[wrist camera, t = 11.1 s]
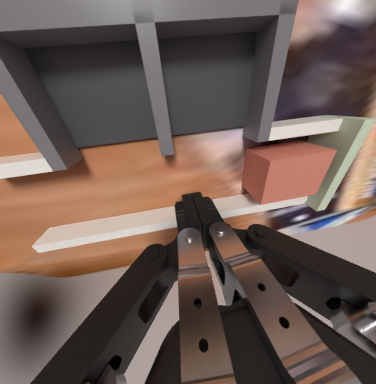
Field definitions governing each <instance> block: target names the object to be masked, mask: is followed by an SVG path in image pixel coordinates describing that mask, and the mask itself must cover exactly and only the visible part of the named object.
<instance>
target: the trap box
mask: <svg viewBox="0 0 376 384" xmlns="http://www.w3.org/2000/svg"><path fill="white" fill-rule="evenodd" d="M297 5H298V0H0V93H1V94H2V96H3V97H4V99H5V100H6V102H7V103H8V105H9V106H10V108H11V109H12V111H13V112H14V114H15V115H16V117H17V118H18V120H19V121H20V123H21V124H22V126H23V127H24V128H25V130H26V131H27V133H28V134H29V136H30V137H31V139H32V140H33V142H34V143H35V145H36V146H37V148H38V149H39V151H40V152H37V153H29V154H21V155H13V156H6V157H0V179H3V178H10V177H17V176H24V175H31V174H38V173H45V172H53V171H60V170H67V169H69V168H70V167H72V166H73V165H75V164H76V163H78V162H79V161H80V160H82V159H83V157H82V155H81V153H80V151H79V149H78V148H80V147H88V146H96V145H103V144H111V143H119V142H126V141H134V140H142V139H149V138H157V137H158V140H159V145H160V150H161V155H162V156H165V155H172V154H174V149H173V142H172V135H180V134H188V133H196V132H203V131H211V130H219V129H226V128H234V127H242V126H244V131H243V137H245V138H247V139H250V140H253V141H255V142H264V141H271V140H278V139H285V138H292V137H299V136H306V135H309V137H308V140H307V142H308V143H312V144H316V145H319V146H323V147H327V148H331V149H335V150H337V152H336V154H335V156H334V158H333V160H332V162H331V164H330V166H329V168H328V171H327V173H326V175H325V177H324V179H323V181H322V183H321V185H320V187H319V189H318V191H317V193H316V194H315V195H309V196H304V197H299V198H294V199H289V200H284V201H278V202H273V203H268V204H263V205H260V204H259V203H258V202H257V201H256V200H255V199H254V198H253V197H252V196H251V195H250V194H249V193H246V194H240V195H235V196H229V197H223V198H217V199H212V201H213V203H214V205H215V206H216V209H217V210H218V212H219V213H220V215H221V217H222V219H223V218H228V217H233V216H239V215H244V214H250V213H255V212H260V211H266V210H271V209H276V208H282V207H287V206H292V205H298V204H303V203H305V204H307V205H308V206H310V207H311V208H313V209H314V210H316V211H320V210H325V209H326V207H327V205H328V203H329V201H330V200H331V198H332V196H333V194H334V193H335V191H336V189H337V187H338V186H339V184H340V182H341V180H342V179H343V177H344V175H345V173H346V172H347V170H348V168H349V166H350V165H351V163H352V161H353V159H354V158H355V156H356V154H357V152H358V151H359V149H360V147H361V145H362V144H363V142H364V140H365V138H366V137H367V135H368V133H369V131H370V130H371V128H372V126H373V124H374V123H375V121H376V118H363V117H348V116H332V115H322V116H314V117H306V118H298V119H291V120H283V121H275V122H273V118H274V113H275V109H276V104H277V99H278V94H279V90H280V85H281V80H282V76H283V71H284V66H285V62H286V57H287V52H288V47H289V43H290V38H291V33H292V29H293V24H294V19H295V15H296V10H297ZM174 227H177V221H176V214H175V208H174V206H171V207H165V208H160V209H154V210H148V211H142V212H137V213H131V214H125V215H119V216H114V217H108V218H102V219H96V220H90V221H85V222H79V223H73V224H67V225H62V226H56V227H50V228H48V229H47V231H46V232H45V233H44V234H43V235H42V236H41V237H40V238H39V239H38V240H37V241H36V243H35V244H34V245H33V246H32V247H33V248H34V249H35V250H36V251H37V252H38V253H40V252H46V251H51V250H56V249H62V248H67V247H73V246H78V245H83V244H89V243H94V242H99V241H105V240H110V239H115V238H121V237H126V236H132V235H137V234H142V233H148V232H153V231H158V230H164V229H169V228H174Z"/></svg>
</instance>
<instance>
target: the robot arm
mask: <svg viewBox="0 0 376 384" xmlns="http://www.w3.org/2000/svg"><path fill="white" fill-rule="evenodd" d="M174 208H175V214H176V221H177V228H178V235H177V237H176V239H175V240H174V241H173V242H171V243H170V244H168V245H166V246H163V245H162V244H153V245H150V246H148V247H147V248H146V249H145V250H144V251H143V252H142V253H141V255H140V256H139V257H138V258H137V259H136V260H135V262H134V263H133V264H132V265H131V266H130V268H129V269H128V270H127V271H126V272H125V273H124V275H123V276H122V277H121V278H120V279H119V280H118V282H117V283H116V284H115V285H114V286H113V287H112V289H111V290H110V291H109V292H108V293H107V295H106V296H105V297H104V298H103V299H102V300H101V301H100V303H99V304H98V305H97V306H96V307H95V308H94V310H93V311H92V312H91V313H90V314H89V316H88V317H87V318H86V319H85V320H84V321H83V323H82V324H81V325H80V326H79V327H78V328H77V330H76V331H75V332H74V333H73V334H72V335H71V337H70V338H69V339H68V340H67V341H66V342H65V344H64V345H63V346H62V347H61V348H60V350H59V351H58V352H57V353H56V354H55V355H54V357H53V358H52V359H51V360H50V361H49V363H48V364H47V365H46V366H45V367H44V368H43V370H42V371H41V372H40V373H39V374H38V375H37V376H36V378H35V379H34V380H33V381H32V382H31V383H30V384H126V378H125V376H124V373H125V371H126V369H127V368H128V366H129V364H130V362H131V360H132V359H133V357H134V355H135V353H136V351H137V350H138V348H139V346H140V344H141V342H142V340H143V339H144V337H145V335H146V333H147V331H148V329H149V328H150V326H151V324H152V322H153V320H154V319H155V317H156V315H157V313H158V311H159V310H160V308H161V306H162V304H163V302H164V301H165V299H166V297H167V295H168V293H169V291H170V289H171V288H172V286H173V284H174V282H175V281H177V280H178V297H179V321H178V322H176V324H175V325H174V326H173V327H172V328H171V329H170V331H169V332H168V334H167V335H166V337H165V339H164V341H163V343H162V345H161V347H160V349H159V351H158V354H157V356H156V358H155V361H154V363H153V365H152V368H151V370H150V372H149V374H148V377H147V379H146V382H145V384H376V273H375V272H372V271H370V270H367V269H365V268H363V267H360V266H358V265H356V264H353V263H351V262H349V261H346V260H344V259H341V258H339V257H337V256H335V255H332V254H330V253H327V252H325V251H323V250H320V249H318V248H316V247H313V246H311V245H308V244H306V243H304V242H302V241H299V240H297V239H294V238H292V237H290V236H287V235H285V234H283V233H280V232H278V231H276V230H273V229H271V228H269V227H266V226H264V225H260V224H253V225H250V226H249V227H248V229H247V230H241V229H234V228H232V227H231V226H230V225H228V224H227V223H225V222H224V221H223V219H222V217H221V215H220V213H219V212H218V210H217V209H216V206H215V205H214V203H213V201H212V200H211V199H210V198H209V197H202V195H201V192H195V193H190V194H184V195H182V201H180V202H176V204H175V206H174ZM205 248H208V250H209V254H210V260H211V263H212V265H213V267H214V270H215V272H216V275H217V277H218V280H219V282H220V285H221V287H222V290H223V294H224V298H225V302H226V305H227V306H223V305H218V303H217V299H216V294H215V289H214V285H213V281H212V276H211V272H210V269H209V267H208V265H207V260H206V256H205V251H204V249H205ZM287 293H288V294H289V295H291V296H292V297H294V298H296V299H297V300H299V301H300V302H302V303H303V304H305V305H306V306H308V307H310V308H311V309H313V310H314V311H316V312H318V313H319V314H321V315H322V316H324V317H325V318H327V319H328V320H330V321H331V322H332V324H333V329H332V328H331V327H329V326H328V325H327V324H325V323H323V322H322V321H321V320H319V319H318V318H316V317H315V316H313V315H312V314H311V313H309V312H308V311H306V310H305V309H303V308H302V307H300V306H299V305H297V304H295V303H293V302H292V300H291V299H290V297H289V296H288V295H287Z"/></svg>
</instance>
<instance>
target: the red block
mask: <svg viewBox="0 0 376 384" xmlns="http://www.w3.org/2000/svg"><path fill="white" fill-rule="evenodd" d="M336 152H337V150H335V149H331V148H327V147H323V146H319V145H316V144H312V143H308V142H304V141H300V140H298V141H291V142H285V143H279V144H272V145H266V146H260V147H253V148H247V149H246V155H245V163H244V172H243V180H242V187H243V188H244V189H245V190H246V191H247V192H248V193H249V194H250V195H251V196H252V197H253V198H254V199H255V200H256V201H257V202H258V203H259V204H260V205H263V204H268V203H273V202H278V201H284V200H289V199H294V198H299V197H304V196H309V195H315V194H316V193H317V191H318V189H319V187H320V185H321V183H322V181H323V179H324V177H325V175H326V173H327V171H328V168H329V166H330V164H331V162H332V160H333V158H334V156H335V154H336Z"/></svg>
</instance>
